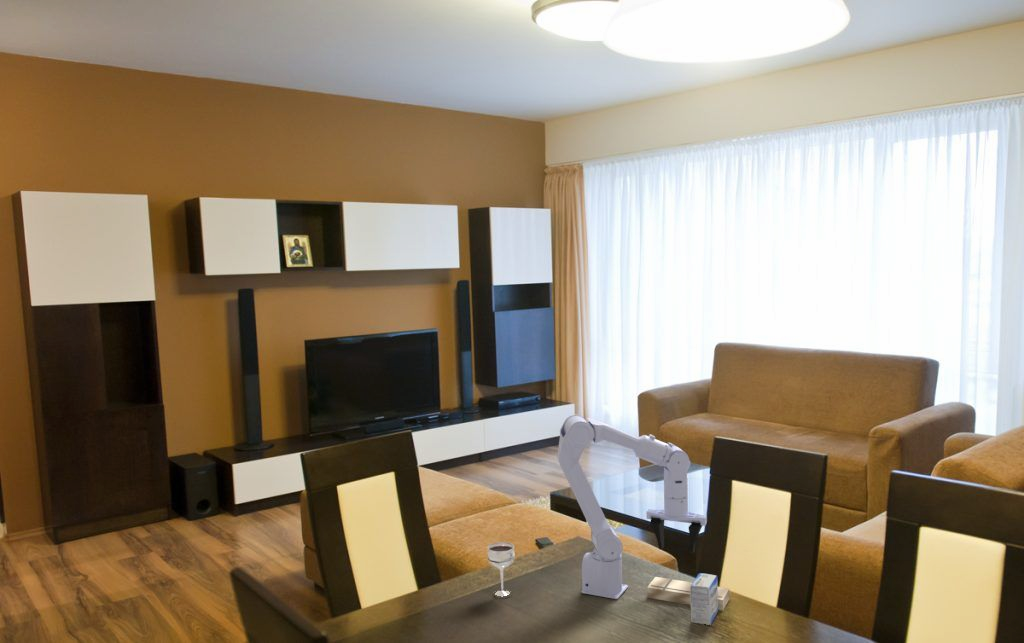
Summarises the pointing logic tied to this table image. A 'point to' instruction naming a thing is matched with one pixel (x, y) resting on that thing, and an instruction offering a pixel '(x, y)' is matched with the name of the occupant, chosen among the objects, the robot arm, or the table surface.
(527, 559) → the table surface
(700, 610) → the medicine box
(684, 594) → the cream striped flat box
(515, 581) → the table surface
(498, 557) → the wineglass
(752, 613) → the table surface
